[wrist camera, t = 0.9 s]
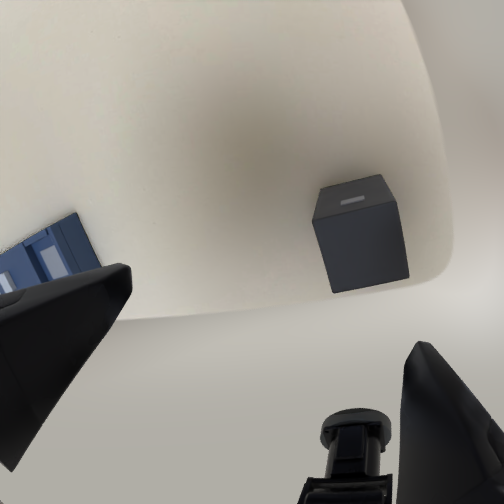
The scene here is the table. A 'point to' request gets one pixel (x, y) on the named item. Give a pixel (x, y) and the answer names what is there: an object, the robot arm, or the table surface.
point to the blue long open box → (47, 256)
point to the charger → (360, 234)
